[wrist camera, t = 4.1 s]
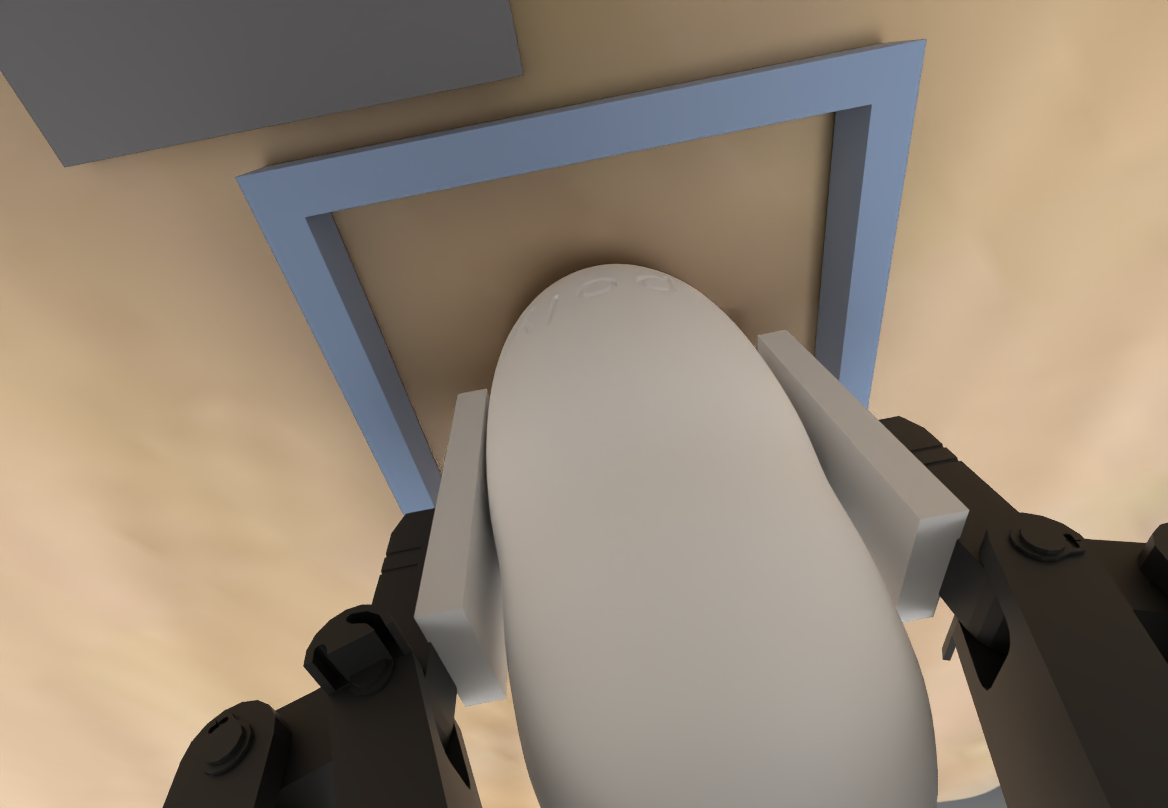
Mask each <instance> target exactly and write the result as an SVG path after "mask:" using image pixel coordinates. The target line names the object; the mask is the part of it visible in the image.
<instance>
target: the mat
mask: <svg viewBox="0 0 1168 808" xmlns="http://www.w3.org/2000/svg"><path fill="white" fill-rule="evenodd" d="M0 70H1V72H2V73H3V75H4V76H5V78H6V79H7V81H8V82H9V84H10V85H11V87H12V89H13V90H14V92H15V93H16V95H17V96H18V98H19V99H20V101H21V102H22V104H23V105H24V107H25V108H26V110H27V111H28V113H29V114H30V116H31V117H32V119H33V120H34V122H35V123H36V125H37V126H38V128H39V129H40V131H41V132H42V134H43V135H44V137H45V139H46V140H47V142H48V143H49V145H50V146H51V148H52V149H53V151H54V152H55V154H56V155H57V157H58V158H59V160H60V161H61V163H62V164H63V166H64V167H69V166H74V165H79V164H84V163H89V162H94V161H99V160H104V159H109V158H114V157H119V156H124V155H129V154H134V153H139V152H144V151H149V150H154V149H159V148H164V147H169V146H174V145H179V144H184V143H189V142H194V141H199V140H204V139H209V138H214V137H219V136H224V135H229V134H234V133H239V132H244V131H249V130H254V129H259V128H264V127H269V126H274V125H279V124H284V123H289V122H294V121H299V120H304V119H309V118H314V117H319V116H324V115H329V114H334V113H339V112H344V111H349V110H354V109H359V108H364V107H368V106H373V105H378V104H383V103H388V102H393V101H398V100H403V99H408V98H413V97H418V96H423V95H428V94H433V93H438V92H443V91H448V90H453V89H458V88H463V87H468V86H473V85H478V84H483V83H488V82H493V81H498V80H503V79H508V78H513V77H518V76H523V70H522V65H521V60H520V55H519V49H518V44H517V39H516V34H515V29H514V24H513V19H512V14H511V9H510V3H509V0H0Z"/></svg>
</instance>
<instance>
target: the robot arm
mask: <svg viewBox="0 0 1168 808" xmlns="http://www.w3.org/2000/svg"><path fill="white" fill-rule="evenodd" d="M757 351H758V353H759V354H760V355H761V357H762V358H763V359H764V361H765V362H766V364H767V365H768V367H769V368H770V370H771V371H772V373H773V374H774V376H775V377H776V379H777V380H778V382H779V383H780V385H781V387H782V388H783V390H784V391H785V393H786V395H787V396H788V398H789V400H790V402H791V403H792V405H793V407H794V409H795V410H796V412H797V414H798V416H799V418H800V420H801V422H802V424H803V426H804V428H805V430H806V432H807V435H808V437H809V439H810V441H811V444H812V446H813V448H814V451H815V453H816V455H817V458H818V460H819V463H820V465H821V467H822V470H823V472H824V474H825V476H826V478H827V480H828V482H829V484H830V486H831V488H832V490H833V491H834V493H835V495H836V496H837V498H838V500H839V502H840V503H841V505H842V507H843V508H844V510H845V511H846V513H847V515H848V516H849V518H850V520H851V521H852V523H853V525H854V526H855V528H856V530H857V531H858V533H859V535H860V537H861V538H862V540H863V542H864V544H865V546H866V548H867V549H868V551H869V553H870V555H871V557H872V559H873V561H874V563H875V565H876V567H877V569H878V571H879V573H880V575H881V577H882V579H883V581H884V583H885V585H886V587H887V590H888V592H889V594H890V596H891V598H892V601H893V603H894V605H895V607H896V609H897V612H898V614H899V616H900V618H901V621H902V623H903V622H909V621H914V620H919V619H924V618H930V617H933V615H934V613H935V610H936V607H937V604H938V601H939V598H940V597H941V598H942V599H943V600H944V602H945V603H946V604H947V605H948V607H949V608H950V609H951V611H952V612H953V613H954V614H955V615H954V618H953V621H952V623H951V626H950V628H949V631H948V634H947V636H946V639H945V642H944V644H943V647H942V654H943V660H949V661H950V659H951V657H952V654H953V652H954V649H955V647H956V649H957V652H958V655H959V658H960V662H961V664H962V667H963V671H964V674H965V677H966V680H967V683H968V686H969V689H970V692H971V695H972V698H973V702H974V705H975V708H976V711H977V714H978V717H979V720H980V723H981V726H982V730H983V733H984V736H985V739H986V742H987V745H988V748H989V751H990V754H991V758H992V761H993V764H994V767H995V770H996V773H997V776H998V779H999V782H1000V785H1001V788H1002V792H1003V795H1004V798H1005V801H1006V804H1007V807H1008V808H1168V523H1165V524H1161V525H1159V527H1158V528H1157V529H1156V530H1155V531H1154V532H1153V534H1152V535H1151V537H1150V538H1149V540H1148V542H1147V543H1137V542H1122V541H1106V540H1091V539H1084V538H1083V537H1082V536H1081V535H1080V534H1079V533H1077V532H1075V531H1074V530H1072V529H1071V528H1069V527H1067V526H1066V525H1064V524H1062V523H1060V522H1057V521H1055V520H1052V519H1049V518H1047V517H1044V516H1040V515H1034V514H1028V513H1019V512H1018V511H1017V510H1016V509H1014V508H1013V507H1012V506H1011V505H1010V504H1009V503H1008V502H1007V501H1006V500H1004V499H1003V498H1002V497H1001V496H1000V495H999V494H998V493H997V492H995V491H994V490H993V489H992V488H991V487H990V486H989V485H988V484H986V483H985V482H984V481H983V480H982V479H981V478H980V477H979V476H978V475H976V474H975V473H974V472H973V471H972V470H971V469H970V468H969V467H967V466H966V465H965V464H964V463H963V462H962V461H958V459H957V457H956V456H955V455H954V454H953V453H952V452H951V451H950V450H948V449H947V448H946V447H945V448H943V446H942V443H941V442H939V441H938V440H937V439H936V438H935V437H934V436H933V435H932V434H930V433H929V432H928V431H927V430H926V429H925V428H923V427H921V426H919V425H917V424H915V423H913V422H911V421H909V420H907V419H905V418H902V417H900V416H897V417H892V418H886V419H881V420H878V419H877V418H876V417H875V416H874V415H873V414H872V413H871V412H870V411H868V410H867V409H866V408H865V407H864V406H863V405H862V404H861V403H860V402H859V401H858V400H857V399H856V398H855V397H854V396H853V395H852V394H851V393H850V392H849V391H848V390H847V389H846V388H845V387H844V386H843V385H842V384H841V383H840V382H839V381H838V380H837V379H836V378H835V377H834V376H833V375H832V374H831V373H830V372H829V371H828V370H827V369H826V368H825V367H824V366H823V365H822V364H821V363H820V362H819V361H818V360H817V359H816V358H815V357H814V356H813V355H812V354H811V353H810V352H809V351H808V350H807V349H806V348H805V347H804V346H803V345H802V344H801V343H800V342H799V341H798V340H797V339H796V338H794V337H793V336H792V335H791V334H790V333H789V332H788V331H787V330H782V331H776V332H771V333H766V334H761V335H758V337H757ZM489 401H490V398H489V394H488V391H487V388H486V389H481V390H476V391H471V392H466V393H461V394H458V396H457V401H456V406H455V411H454V416H453V421H452V427H451V432H450V437H449V442H448V447H447V452H446V457H445V462H444V467H443V472H442V477H441V482H440V487H439V492H438V497H437V503H436V508H432V509H427V510H422V511H416V512H411V513H406V514H405V516H404V517H403V518H402V520H401V521H400V523H399V524H398V525H397V527H396V528H395V529H394V531H393V532H392V534H391V537H390V541H389V545H388V548H387V552H386V558H385V559H384V562H383V566H382V570H381V572H382V575H380V577H379V580H378V584H377V587H376V591H375V594H374V598H373V602H372V605H359V606H356V607H353V608H350V609H347V610H345V611H343V612H342V613H340V614H339V615H337V616H336V617H334V618H332V619H331V620H329V621H328V622H327V623H326V624H325V626H324V627H323V628H322V629H321V630H320V631H319V632H318V633H317V634H316V635H315V637H314V638H313V640H312V642H311V644H310V645H309V647H308V649H307V650H306V655H305V660H304V665H303V666H304V668H305V669H306V670H307V671H308V672H309V673H310V675H311V676H312V677H313V678H314V679H315V681H316V682H317V683H318V684H319V685H320V686H321V687H320V688H319V689H317V690H316V691H314V692H312V693H310V694H308V695H306V696H304V697H302V698H300V699H298V700H296V701H294V702H292V703H290V704H288V705H286V706H284V707H282V708H280V709H278V710H276V711H275V710H274V709H273V708H272V707H271V706H270V705H268V704H266V703H263V702H261V701H259V700H255V701H247V702H242V703H239V704H237V705H235V706H233V707H231V708H229V709H227V710H225V711H223V712H222V713H221V714H219V715H218V716H217V717H215V718H214V719H213V720H212V721H210V722H209V723H208V724H207V725H206V726H205V727H204V728H203V729H202V730H201V732H200V733H199V734H198V735H197V736H196V737H195V738H194V740H193V741H192V742H191V744H190V746H189V747H188V749H187V751H186V753H185V755H184V756H183V758H182V760H181V762H180V765H179V767H178V770H177V772H176V775H175V777H174V780H173V783H172V785H171V788H170V790H169V793H168V795H167V798H166V800H165V803H164V805H163V808H482V805H481V802H480V798H479V795H478V791H477V787H476V784H475V780H474V776H473V773H472V769H471V766H470V762H469V758H468V755H467V751H466V748H465V744H464V740H463V737H462V733H461V730H460V728H459V726H458V724H457V722H456V721H455V719H454V714H455V704H456V695H457V693H458V695H459V697H460V698H461V700H462V702H463V704H464V705H465V707H466V706H471V705H476V704H481V703H487V702H492V701H497V700H502V699H506V681H507V656H506V647H505V637H504V621H503V602H502V585H501V574H500V567H499V561H498V556H497V550H496V545H495V540H494V535H493V529H492V523H491V518H490V509H489V500H488V488H487V464H486V441H487V420H488V409H489Z"/></svg>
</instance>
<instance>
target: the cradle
mask: <svg viewBox="0 0 1168 808" xmlns="http://www.w3.org/2000/svg"><path fill="white" fill-rule="evenodd" d="M926 40H927V39H922V40H910V41H899V42H888V43H880V44H875V45H870V46H865V47H860V48H855V49H850V50H845V51H840V52H835V53H830V54H825V55H820V56H815V57H810V58H805V59H800V60H795V61H790V62H785V63H780V64H775V65H770V66H765V67H760V68H755V69H750V70H745V71H740V72H735V73H730V74H725V75H720V76H715V77H710V78H705V79H700V80H695V81H690V82H685V83H680V84H675V85H670V86H665V87H660V88H655V89H650V90H645V91H640V92H635V93H630V94H625V95H620V96H615V97H610V98H605V99H600V100H595V101H590V102H585V103H580V104H575V105H570V106H565V107H560V108H555V109H550V110H545V111H540V112H535V113H530V114H525V115H520V116H515V117H510V118H505V119H500V120H495V121H490V122H485V123H480V124H475V125H470V126H465V127H460V128H455V129H450V130H445V131H440V132H435V133H430V134H425V135H420V136H415V137H410V138H405V139H400V140H395V141H390V142H385V143H380V144H375V145H370V146H365V147H360V148H355V149H350V150H345V151H340V152H335V153H330V154H325V155H321V156H316V157H311V158H306V159H301V160H296V161H291V162H286V163H281V164H276V165H271V166H266V167H263V168H260V169H257V170H254V171H251V172H249V173H246V174H243V175H240V176H238V177H235V178H236V180H237V182H238V184H239V186H240V188H241V190H242V192H243V194H244V196H245V198H246V200H247V202H248V204H249V206H250V208H251V210H252V212H253V214H254V216H255V218H256V220H257V222H258V224H259V226H260V228H261V230H262V232H263V234H264V236H265V238H266V240H267V242H268V244H269V246H270V248H271V250H272V252H273V254H274V256H275V258H276V260H277V262H278V264H279V266H280V268H281V270H282V272H283V274H284V276H285V278H286V280H287V282H288V284H289V286H290V288H291V290H292V292H293V294H294V296H295V298H296V300H297V302H298V304H299V306H300V308H301V310H302V312H303V314H304V316H305V318H306V320H307V322H308V324H309V326H310V328H311V330H312V332H313V334H314V336H315V338H316V340H317V342H318V344H319V346H320V348H321V350H322V352H323V354H324V356H325V358H326V360H327V362H328V364H329V366H330V368H331V370H332V372H333V374H334V376H335V378H336V380H337V382H338V384H339V386H340V388H341V391H342V393H343V395H344V397H345V399H346V401H347V403H348V405H349V407H350V409H351V411H352V413H353V415H354V417H355V419H356V421H357V423H358V425H359V427H360V429H361V431H362V433H363V435H364V437H365V439H366V441H367V443H368V445H369V447H370V449H371V451H372V453H373V455H374V457H375V459H376V461H377V463H378V465H379V467H380V469H381V471H382V473H383V475H384V477H385V479H386V481H387V483H388V485H389V487H390V489H391V491H392V493H393V495H394V497H395V499H396V501H397V503H398V505H399V507H400V509H401V511H402V513H403V515H404V516H405V514H406V513H411V512H416V511H422V510H427V509H432V508H436V503H437V497H438V492H439V487H440V482H441V475H440V472H439V470H438V467H437V465H436V463H435V460H434V458H433V456H432V453H431V451H430V448H429V446H428V444H427V441H426V439H425V436H424V434H423V432H422V429H421V427H420V425H419V422H418V420H417V417H416V415H415V413H414V410H413V408H412V405H411V403H410V401H409V398H408V396H407V394H406V391H405V389H404V386H403V384H402V382H401V379H400V377H399V374H398V372H397V370H396V367H395V365H394V363H393V360H392V358H391V355H390V353H389V351H388V348H387V346H386V343H385V341H384V339H383V336H382V334H381V332H380V329H379V327H378V324H377V322H376V320H375V317H374V315H373V312H372V310H371V308H370V305H369V303H368V301H367V298H366V296H365V293H364V291H363V289H362V286H361V284H360V281H359V279H358V277H357V274H356V272H355V270H354V267H353V265H352V262H351V260H350V258H349V255H348V253H347V250H346V248H345V246H344V243H343V241H342V239H341V236H340V234H339V231H338V229H337V227H336V224H335V222H334V219H333V217H332V215H331V212H333V211H338V210H343V209H348V208H353V207H358V206H363V205H368V204H373V203H378V202H383V201H388V200H394V199H399V198H404V197H409V196H414V195H419V194H424V193H429V192H434V191H439V190H444V189H449V188H454V187H459V186H464V185H469V184H474V183H479V182H484V181H489V180H494V179H499V178H504V177H509V176H514V175H519V174H524V173H529V172H534V171H539V170H544V169H549V168H554V167H559V166H564V165H569V164H574V163H579V162H584V161H589V160H594V159H599V158H604V157H609V156H614V155H619V154H624V153H629V152H634V151H639V150H644V149H649V148H654V147H659V146H664V145H669V144H674V143H679V142H684V141H689V140H694V139H699V138H704V137H709V136H714V135H719V134H725V133H730V132H735V131H740V130H745V129H750V128H755V127H760V126H765V125H770V124H775V123H780V122H785V121H790V120H795V119H800V118H805V117H810V116H815V115H820V114H825V113H830V112H835V111H836V114H835V126H834V138H833V149H832V161H831V172H830V184H829V196H828V207H827V219H826V231H825V242H824V254H823V265H822V277H821V289H820V300H819V312H818V323H817V335H816V347H815V358H816V359H817V360H818V361H819V362H820V363H821V364H822V365H823V366H824V367H825V368H826V369H827V370H828V371H829V372H830V373H831V374H832V375H833V376H834V377H835V378H836V379H837V380H838V381H839V382H840V383H841V384H842V385H843V386H844V387H845V388H846V389H847V390H848V391H849V392H850V393H851V394H852V395H853V396H854V397H855V398H856V399H857V400H858V401H859V402H860V403H861V404H862V405H863V406H864V407H865V408H866V409H867V410H868V404H869V398H870V391H871V385H872V379H873V373H874V366H875V360H876V354H877V347H878V341H879V335H880V329H881V322H882V316H883V310H884V303H885V297H886V291H887V285H888V278H889V272H890V266H891V260H892V253H893V247H894V241H895V234H896V228H897V222H898V216H899V209H900V203H901V197H902V191H903V184H904V178H905V172H906V165H907V159H908V153H909V147H910V140H911V134H912V128H913V121H914V115H915V109H916V103H917V96H918V90H919V84H920V78H921V71H922V65H923V59H924V52H925V46H926Z"/></svg>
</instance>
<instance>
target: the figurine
mask: <svg viewBox="0 0 1168 808" xmlns="http://www.w3.org/2000/svg"><path fill="white" fill-rule="evenodd" d="M486 464H487V488H488V500H489V509H490V518H491V523H492V529H493V535H494V540H495V545H496V550H497V556H498V561H499V567H500V574H501V585H502V602H503V621H504V637H505V647H506V656H507V664H508V672H509V679H510V685H511V692H512V698H513V704H514V710H515V715H516V721H517V726H518V731H519V737H520V741H521V746H522V750H523V755H524V759H525V763H526V766H527V770H528V774H529V777H530V780H531V783H532V786H533V789H534V792H535V794H536V797H537V799H538V802H539V804H540V807H541V808H936V805H937V795H938V769H937V755H936V744H935V735H934V727H933V720H932V714H931V709H930V704H929V698H928V694H927V690H926V686H925V683H924V679H923V676H922V673H921V669H920V666H919V663H918V660H917V658H916V655H915V652H914V650H913V647H912V645H911V642H910V640H909V637H908V635H907V632H906V630H905V628H904V625H903V623H902V621H901V618H900V616H899V614H898V612H897V609H896V607H895V605H894V603H893V601H892V598H891V596H890V594H889V592H888V590H887V587H886V585H885V583H884V581H883V579H882V577H881V575H880V573H879V571H878V569H877V567H876V565H875V563H874V561H873V559H872V557H871V555H870V553H869V551H868V549H867V548H866V546H865V544H864V542H863V540H862V538H861V537H860V535H859V533H858V531H857V530H856V528H855V526H854V525H853V523H852V521H851V520H850V518H849V516H848V515H847V513H846V511H845V510H844V508H843V507H842V505H841V503H840V502H839V500H838V498H837V496H836V495H835V493H834V491H833V490H832V488H831V486H830V484H829V482H828V480H827V478H826V476H825V474H824V472H823V470H822V467H821V465H820V463H819V460H818V458H817V455H816V453H815V451H814V448H813V446H812V444H811V441H810V439H809V437H808V435H807V432H806V430H805V428H804V426H803V424H802V422H801V420H800V418H799V416H798V414H797V412H796V410H795V409H794V407H793V405H792V403H791V402H790V400H789V398H788V396H787V395H786V393H785V391H784V390H783V388H782V387H781V385H780V383H779V382H778V380H777V379H776V377H775V376H774V374H773V373H772V371H771V370H770V368H769V367H768V365H767V364H766V362H765V361H764V359H763V358H762V357H761V355H760V354H759V353H758V351H757V350H756V349H755V347H754V346H753V345H752V343H751V342H750V341H749V340H748V338H747V337H746V336H745V335H744V334H743V332H742V331H741V330H740V329H739V328H738V327H737V325H736V324H735V323H734V322H733V321H732V320H731V319H730V318H729V317H728V316H727V315H726V314H725V313H724V312H723V311H722V310H721V309H720V308H719V307H717V306H716V305H715V304H714V303H713V302H712V301H711V300H709V299H708V298H707V297H706V296H704V295H703V294H702V293H700V292H699V291H697V290H696V289H694V288H693V287H691V286H690V285H688V284H686V283H685V282H683V281H681V280H679V279H677V278H675V277H673V276H671V275H668V274H665V273H663V272H660V271H657V270H654V269H650V268H646V267H642V266H637V265H630V264H605V265H598V266H593V267H589V268H585V269H582V270H579V271H576V272H574V273H571V274H569V275H567V276H565V277H563V278H561V279H560V280H558V281H556V282H555V283H553V284H552V285H550V286H549V287H547V288H546V289H545V290H544V291H543V292H541V293H540V294H539V295H538V296H537V297H536V298H535V299H534V300H533V301H532V302H531V303H530V305H529V306H528V307H527V308H526V309H525V311H524V312H523V313H522V314H521V316H520V317H519V319H518V320H517V322H516V323H515V325H514V326H513V328H512V330H511V332H510V334H509V336H508V337H507V340H506V342H505V344H504V346H503V349H502V351H501V354H500V357H499V360H498V363H497V367H496V370H495V374H494V379H493V383H492V389H491V395H490V401H489V409H488V420H487V441H486Z"/></svg>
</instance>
